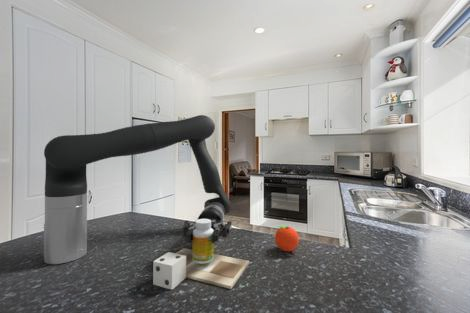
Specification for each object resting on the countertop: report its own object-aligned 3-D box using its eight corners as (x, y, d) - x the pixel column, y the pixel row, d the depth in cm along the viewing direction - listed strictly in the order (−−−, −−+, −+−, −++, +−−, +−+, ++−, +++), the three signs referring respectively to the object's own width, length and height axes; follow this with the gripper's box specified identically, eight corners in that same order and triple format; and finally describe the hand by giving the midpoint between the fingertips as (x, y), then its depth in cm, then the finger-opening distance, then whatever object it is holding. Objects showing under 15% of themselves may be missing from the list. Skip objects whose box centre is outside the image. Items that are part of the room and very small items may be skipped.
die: (152, 284, 47) (153, 261, 47) (168, 273, 52) (168, 251, 52) (171, 290, 45) (171, 265, 45) (186, 277, 50) (186, 255, 50)
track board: (154, 269, 53) (154, 266, 53) (183, 250, 65) (183, 247, 65) (231, 289, 46) (231, 285, 46) (249, 263, 57) (249, 260, 57)
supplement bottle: (210, 265, 52) (210, 224, 52) (188, 263, 53) (189, 223, 53) (216, 255, 57) (216, 218, 57) (197, 253, 58) (197, 217, 58)
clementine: (267, 251, 64) (268, 226, 64) (276, 243, 70) (276, 221, 70) (294, 257, 60) (295, 231, 60) (301, 248, 66) (301, 225, 66)
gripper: (189, 206, 70) (172, 223, 53) (234, 207, 69) (231, 224, 52) (189, 230, 70) (171, 254, 53) (234, 230, 69) (230, 255, 52)
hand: (201, 239), depth 53 cm, fingers closed on supplement bottle, 5 cm apart
